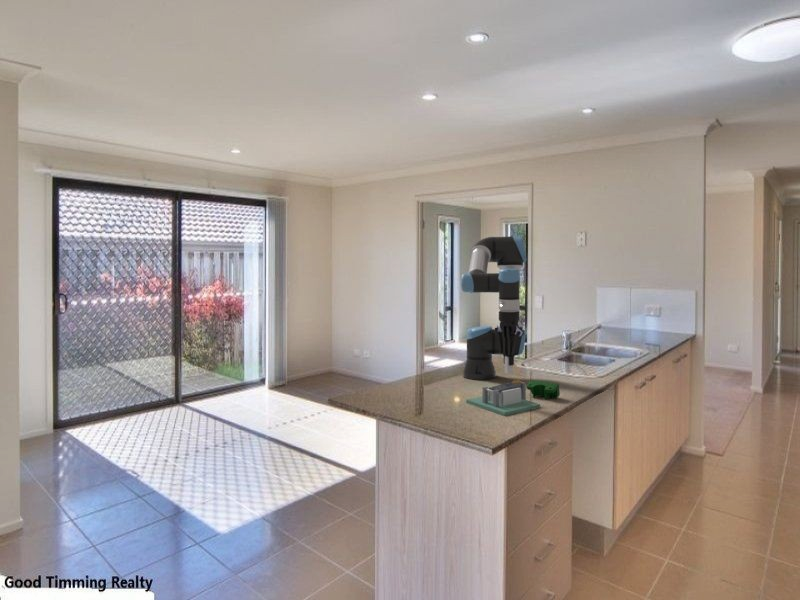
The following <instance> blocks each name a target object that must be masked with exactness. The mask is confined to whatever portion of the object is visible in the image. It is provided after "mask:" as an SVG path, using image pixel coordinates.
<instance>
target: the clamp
mask: <svg viewBox="0 0 800 600" xmlns="http://www.w3.org/2000/svg"><path fill="white" fill-rule="evenodd" d="M526 390H529V391H530V393H531V394H532V398H533V399H534V398H536V397H538V396H539V397H544V400H545V401H546V400H547V401H548V400H549V398H551V399H557V398H559V396H560V394H561V393H560V384H559V383H555V382H548V381H544V380H543V381H541V380H537V379H536V380H535V379H531V380H530V381H529V382H528V383H526Z"/></svg>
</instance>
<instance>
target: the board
mask: <svg viewBox="0 0 800 600" xmlns="http://www.w3.org/2000/svg"><path fill="white" fill-rule="evenodd" d="M521 383H522V386H519V387H516V388H512V389H508V390H505V391H501V392H499V390H490V389H489V388H490V387H491V386H489V387H488V386H482V396H478V397H473V398H469V399H467V398H466V400H465V401H466V404H469V405H472V406H475V407H477V408H479V409H480V408H481V409H483V410H487V411H489V412H492V413H495V414H497V415H501V416H503V417H506V416H509V415H515V414H518V413H523V412H526V411H532V410H535V409H540V408H541V403H538V402H534V401H531V400H528V399H527V397H526V394H527V393H526V391H527V383H526V382H525V381H524V382H523V381H521ZM492 387H494V386H492Z"/></svg>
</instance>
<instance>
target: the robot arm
mask: <svg viewBox="0 0 800 600" xmlns="http://www.w3.org/2000/svg"><path fill="white" fill-rule="evenodd" d="M469 259H470V261H469V262H470V264H469V266H468V272H467V273H463V274H462V275H461V283H460V284H461V287H460V288H461V291H462V292H463V293H470V294H472V293H475V294H476V293H498V309H499V311H498V321H499V323H498V324H496V327H495V328H493V327H492V326H491V325H480V326H474V327H470V328H468V329H467V331H466V337H465V339H466V361H465V363H464V364H465V365H464V367H463V370H462V376H463V378H465V379H470V380H481V381H482V380H483V381H484V380H491V379H495V378H496V377H497V375H496V370H495V366H494V363H493V355H497V356H498V355H499V356H500V355H501V356H503V365H504V374H506V375H510V374H513V373H514V371H513V370H514V368H513V367H514V366H515V365H514V364H515V356H520V355H522V354H523V352H524V348H525V343H526V335H527V330H526V329H524V325H522V323H521V322H520V308H521V307H520V306H521V305H520V304H521V303H520V292H521V291H520V290H521V289H520V288H521V286H520V285H521V283H520V282H521V273H520V272H521V271H520V270H521V269H522V268H523V267H524V263H525V262H527V253H526V245H525V239H524V238H523V237H522V236H513V235H512V236H488V237H485V238H482V239H480V240H478V241H477V242H476V243H475V244H473V245H472V247H471V248H470V250H469ZM489 263H496V264H497V265H496V267H497V268H498V269H499V271H498V272H496V273H495V272H494V273H492V272H489V273H488V268H489V267H488V266H489Z"/></svg>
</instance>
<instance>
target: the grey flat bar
mask: <svg viewBox="0 0 800 600" xmlns="http://www.w3.org/2000/svg"><path fill="white" fill-rule="evenodd" d="M521 382H522V380H519V379H515V380H512V381H511V382H510V381H509V382H506V383H502V384H499V385H498V384H497V385H495V386H494V387H493V386H489V387H490V388H489V387H488V389H490V390H499V392H501V391H505V390H508V389H512V388H516V387H519V386H522V383H521Z"/></svg>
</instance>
